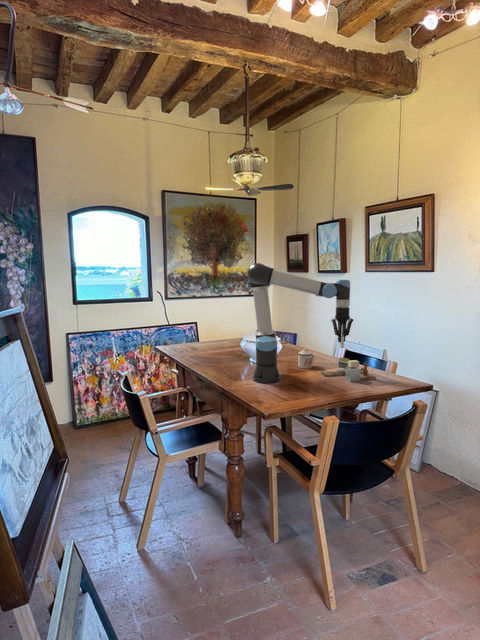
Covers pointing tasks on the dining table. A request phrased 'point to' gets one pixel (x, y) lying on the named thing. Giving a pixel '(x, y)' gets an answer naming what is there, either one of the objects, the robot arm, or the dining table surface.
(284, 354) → the dining table surface
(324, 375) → the rail
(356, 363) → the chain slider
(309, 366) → the teacup with lid
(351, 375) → the grey hollow square block
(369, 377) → the square plate with peg
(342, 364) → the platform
